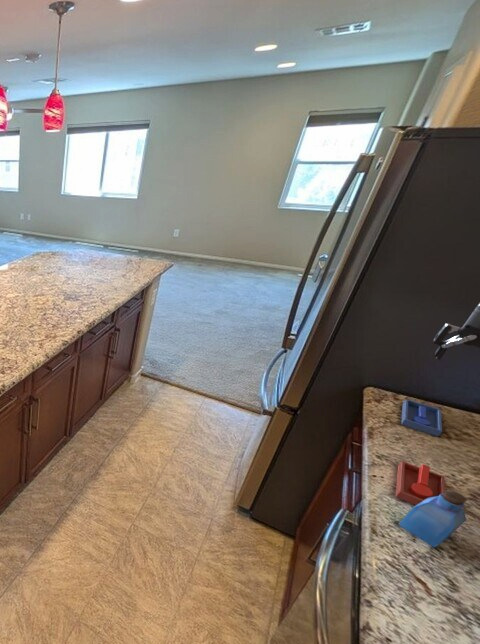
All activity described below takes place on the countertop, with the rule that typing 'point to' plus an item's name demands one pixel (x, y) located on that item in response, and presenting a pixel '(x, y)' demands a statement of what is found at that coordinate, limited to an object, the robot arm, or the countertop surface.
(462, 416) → the countertop surface
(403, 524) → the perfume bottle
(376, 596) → the countertop surface
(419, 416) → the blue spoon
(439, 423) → the blue tray
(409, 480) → the red tray
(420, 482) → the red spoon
